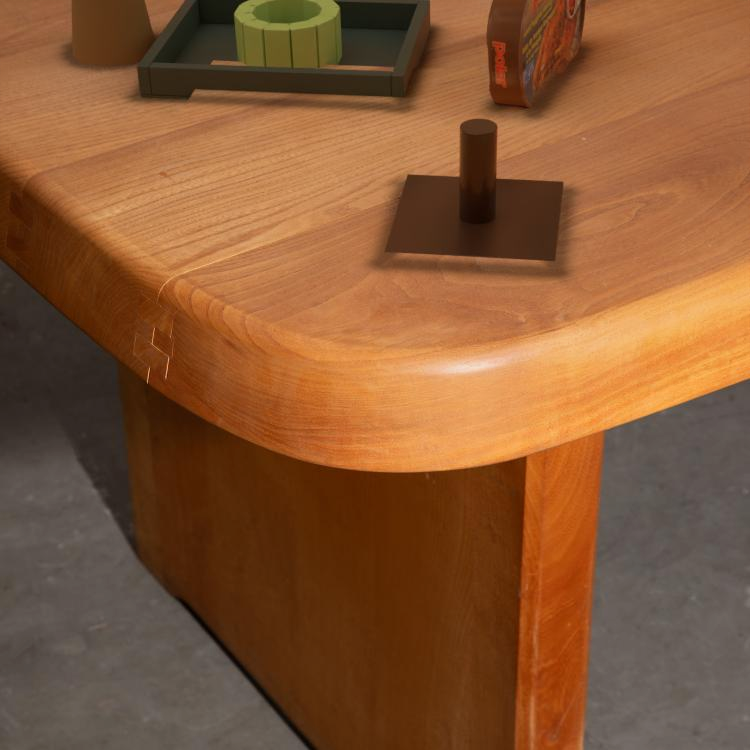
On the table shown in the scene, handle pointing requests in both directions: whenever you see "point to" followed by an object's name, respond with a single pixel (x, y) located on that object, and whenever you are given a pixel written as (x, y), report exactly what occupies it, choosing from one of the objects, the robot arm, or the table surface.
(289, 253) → the table surface
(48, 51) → the table surface
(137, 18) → the cork
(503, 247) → the stand
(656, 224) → the table surface
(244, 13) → the ring
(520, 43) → the tin
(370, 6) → the tray
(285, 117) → the table surface
